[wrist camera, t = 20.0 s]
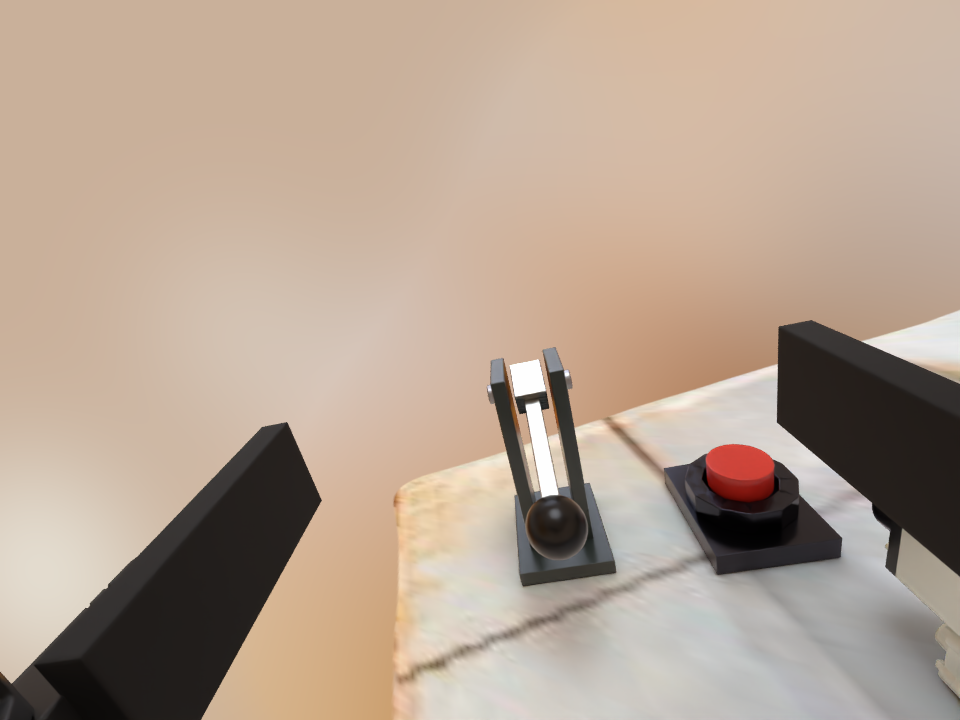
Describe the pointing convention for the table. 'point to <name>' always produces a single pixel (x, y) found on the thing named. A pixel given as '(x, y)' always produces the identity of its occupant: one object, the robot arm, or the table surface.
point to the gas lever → (546, 475)
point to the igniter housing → (752, 522)
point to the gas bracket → (596, 548)
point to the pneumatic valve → (928, 591)
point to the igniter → (740, 473)
